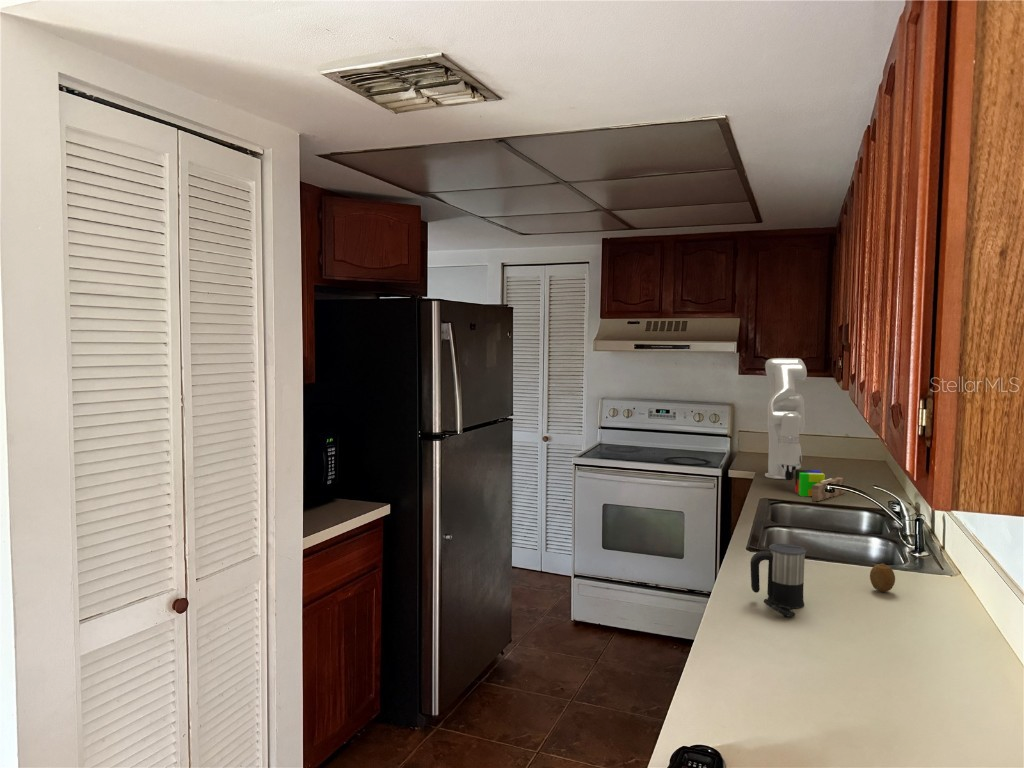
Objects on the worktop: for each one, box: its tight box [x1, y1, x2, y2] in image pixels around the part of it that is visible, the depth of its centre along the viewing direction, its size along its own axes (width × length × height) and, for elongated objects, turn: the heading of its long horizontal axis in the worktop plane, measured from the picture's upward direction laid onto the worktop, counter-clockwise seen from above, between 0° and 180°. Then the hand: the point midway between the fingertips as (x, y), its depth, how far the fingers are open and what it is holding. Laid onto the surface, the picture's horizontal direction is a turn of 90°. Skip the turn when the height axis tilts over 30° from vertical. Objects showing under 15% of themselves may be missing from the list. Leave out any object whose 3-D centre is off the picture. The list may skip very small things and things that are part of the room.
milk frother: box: [749, 543, 807, 618], centre depth 185 cm, size 14×16×15 cm
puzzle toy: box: [794, 469, 826, 497], centre depth 320 cm, size 10×10×10 cm
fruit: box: [869, 563, 896, 593], centre depth 197 cm, size 6×6×8 cm
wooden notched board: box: [811, 476, 845, 502], centre depth 314 cm, size 26×2×8 cm, turn 132°
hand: (789, 479), depth 327 cm, fingers closed
